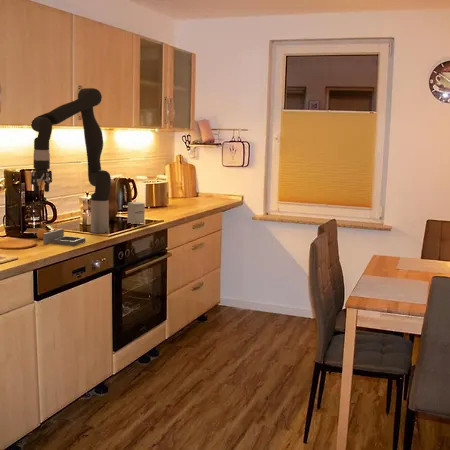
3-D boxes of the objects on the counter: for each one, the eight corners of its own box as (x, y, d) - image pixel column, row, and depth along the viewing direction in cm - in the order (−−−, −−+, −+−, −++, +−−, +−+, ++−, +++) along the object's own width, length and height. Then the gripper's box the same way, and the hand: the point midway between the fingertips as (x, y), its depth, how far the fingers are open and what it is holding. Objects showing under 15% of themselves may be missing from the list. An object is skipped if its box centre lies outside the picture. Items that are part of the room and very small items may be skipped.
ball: (40, 237, 300) (40, 227, 299) (49, 238, 298) (49, 228, 297) (34, 239, 295) (34, 229, 294) (43, 240, 293) (43, 230, 293)
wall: (61, 238, 300) (61, 228, 299) (63, 238, 300) (63, 228, 299) (43, 243, 285) (43, 233, 284) (45, 244, 285) (45, 233, 284)
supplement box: (133, 225, 346) (134, 203, 344) (127, 223, 352) (127, 202, 350) (144, 224, 351) (145, 203, 349) (137, 222, 357) (138, 201, 354)
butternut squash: (90, 221, 354) (91, 179, 350) (101, 218, 367) (101, 177, 363) (112, 223, 351) (112, 180, 346) (122, 220, 363) (122, 178, 359)
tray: (65, 239, 297) (65, 235, 296) (85, 242, 294) (85, 237, 293) (53, 243, 286) (53, 239, 286) (73, 246, 283) (73, 241, 283)
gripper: (43, 158, 298) (43, 190, 301) (26, 159, 284) (26, 193, 287) (56, 159, 296) (56, 191, 298) (39, 160, 282) (40, 194, 285)
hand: (41, 192), depth 293 cm, fingers open, 8 cm apart
